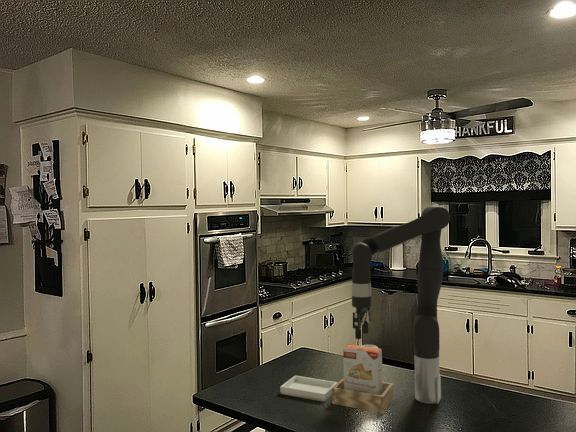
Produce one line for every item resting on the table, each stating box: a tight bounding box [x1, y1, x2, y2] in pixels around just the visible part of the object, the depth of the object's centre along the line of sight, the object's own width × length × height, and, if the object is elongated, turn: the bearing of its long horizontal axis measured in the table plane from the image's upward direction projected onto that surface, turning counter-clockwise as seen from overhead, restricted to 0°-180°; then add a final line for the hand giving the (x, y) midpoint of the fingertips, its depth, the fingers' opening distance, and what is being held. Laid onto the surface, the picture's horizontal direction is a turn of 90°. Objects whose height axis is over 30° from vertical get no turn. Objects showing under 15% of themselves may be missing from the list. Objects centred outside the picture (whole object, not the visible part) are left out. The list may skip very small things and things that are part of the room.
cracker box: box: [342, 344, 383, 395], centre depth 183 cm, size 14×6×21 cm, turn 62°
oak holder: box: [331, 377, 395, 414], centre depth 183 cm, size 20×14×6 cm
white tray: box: [279, 375, 339, 403], centre depth 194 cm, size 20×14×3 cm
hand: (362, 336), depth 183 cm, fingers open, 8 cm apart
